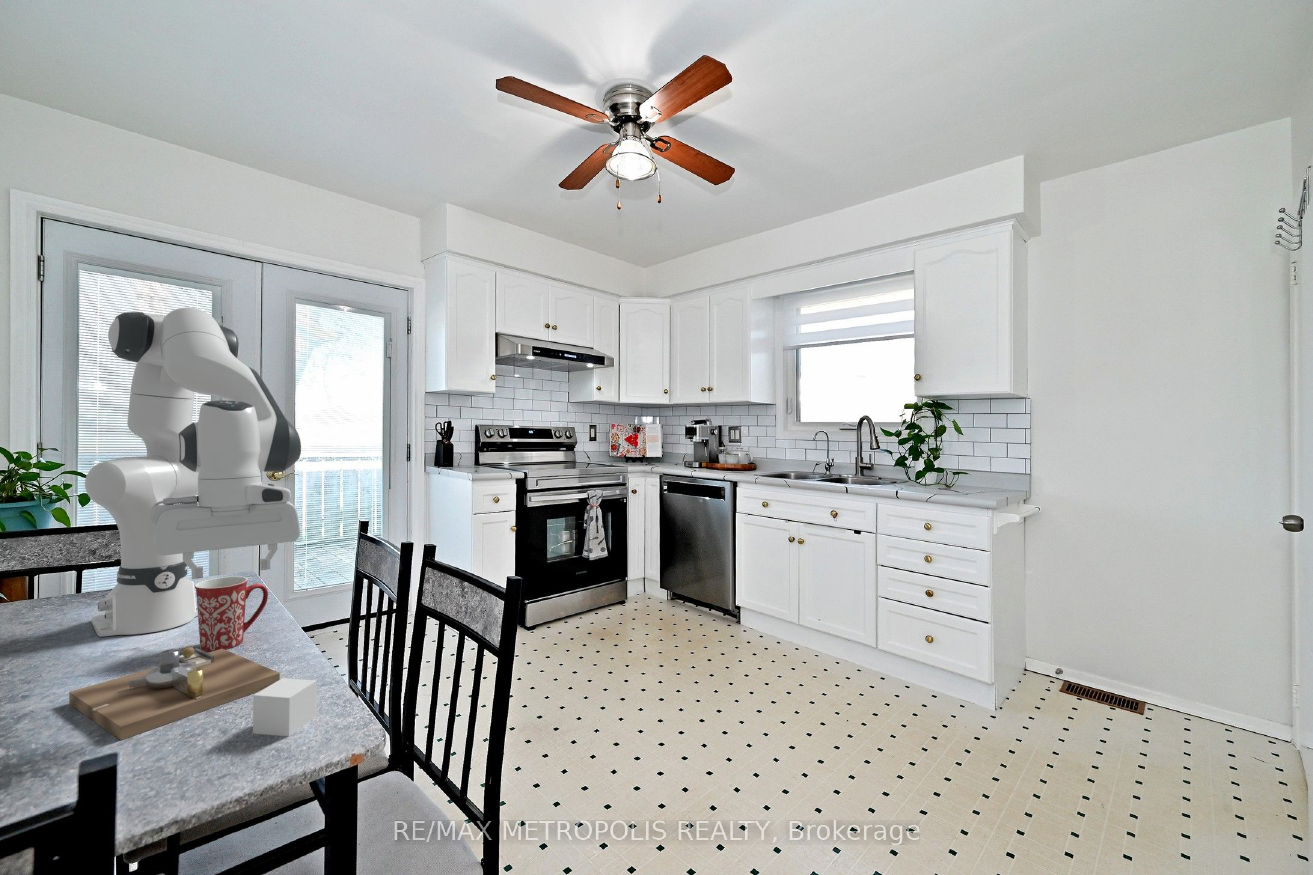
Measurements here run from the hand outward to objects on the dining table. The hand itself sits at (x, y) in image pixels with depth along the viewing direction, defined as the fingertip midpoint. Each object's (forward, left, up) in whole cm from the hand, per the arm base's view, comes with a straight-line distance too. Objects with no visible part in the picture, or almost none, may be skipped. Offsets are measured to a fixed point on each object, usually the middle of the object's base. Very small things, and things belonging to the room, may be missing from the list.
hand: (232, 573), depth 99 cm
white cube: (+18, -1, -21) cm, 28 cm away
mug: (-26, +11, -21) cm, 35 cm away
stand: (-8, -5, -21) cm, 23 cm away
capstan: (-5, -6, -19) cm, 20 cm away
